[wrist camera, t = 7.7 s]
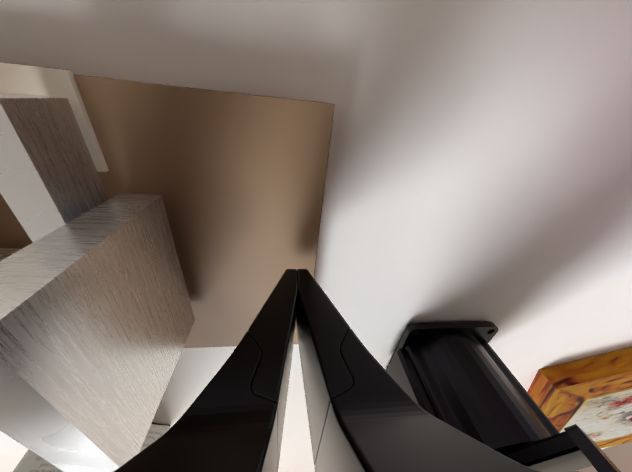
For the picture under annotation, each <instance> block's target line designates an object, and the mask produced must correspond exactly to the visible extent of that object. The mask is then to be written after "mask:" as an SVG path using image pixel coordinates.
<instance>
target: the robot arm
mask: <svg viewBox="0 0 632 472" xmlns="http://www.w3.org/2000/svg"><path fill="white" fill-rule="evenodd" d="M295 327H297V335H298V343H299V351H300V358H301V366H302V374H303V382H304V389H305V397H306V405H307V413H308V420H309V428H310V436H311V443H312V451H313V459H314V465H315V472H572V471H573V472H579V471H576V470H579V469H583V468H585V467H589V466H594V468H595V469H596V470H597V471H598V472H621V471H620V470H619V469H618V468H617V467H616V466H615V464H614V463H613V462H612V461H611V460H610V459H609V458H608V457H607V456H606V454H605V453H604V452H603V451H602V450H601V449H600V448H599V446H598V445H597V444H596V443H595V442H594V441H593V440H592V439H591V438H590V437H589V436H588V435H587V434H586V433H585V432H584V431H583V430H582V429H581V428H580V427H579V426H577V425H576V424H574V425H572V426H569V427H566V428H563V429H564V430H565V431H564V432H561V433H559V431H558V430H557V429H556V428H555V426H554V425H553V424H552V423H551V422H550V420H549V419H548V418H547V417H546V415H545V414H544V413H543V412H542V410H541V409H540V408H539V407H538V405H537V404H536V403H535V402H534V400H533V399H532V398H531V397H530V395H529V394H528V393H527V392H526V390H525V389H524V388H523V387H522V385H521V384H520V383H519V382H518V380H517V379H516V378H515V377H514V375H513V374H512V373H511V372H510V370H509V369H508V368H507V367H506V365H505V364H504V363H503V362H502V360H501V359H500V358H499V357H498V355H497V354H496V353H495V352H494V350H493V349H492V348H491V347H490V346H489V344H488V342H489V341H490V340H491V339H492V338H493V336H494V335H495V334H496V333H497V331H498V327H497V326H496V325H495V324H494V323H493V322H461V323H416V324H411V325H409V326H408V327H407V328H406V330H405V332H404V334H403V336H402V338H401V340H400V342H399V345H398V347H397V349H396V351H395V353H394V355H393V357H392V359H391V362H390V364H389V366H388V368H387V370H385V369H384V368H383V367H382V366H381V365H380V364H379V363H378V362H377V360H376V359H375V358H374V357H373V356H372V355H371V354H370V352H369V351H368V350H367V349H366V348H365V346H364V345H363V344H362V343H361V341H360V340H359V339H358V337H357V336H356V335H355V333H354V332H353V331H352V329H350V327H349V325H348V324H347V323H346V321H345V320H344V318H343V317H342V316H341V314H340V313H339V312H338V310H337V309H336V308H335V306H334V305H333V304H332V302H331V301H330V299H329V298H328V297H327V295H326V294H325V293H324V291H323V290H322V289H321V287H320V286H319V284H318V283H317V282H316V280H315V279H314V278H313V276H312V275H311V274H310V272H309V271H308V270H307V269H297V270H296V269H286V270H285V272H284V274H283V275H282V277H281V278H280V280H279V282H278V283H277V285H276V286H275V288H274V289H273V291H272V293H271V294H270V296H269V297H268V299H267V300H266V302H265V304H264V305H263V307H262V308H261V310H260V311H259V313H258V315H257V316H256V318H255V319H254V321H253V323H252V324H251V326H250V327H249V329H248V331H247V332H246V333H245V335H244V337H243V338H242V340H241V341H240V343H239V344H238V346H237V347H236V349H235V350H234V352H233V353H232V354H231V356H230V357H229V358H228V360H227V361H226V362H225V364H224V365H223V366H222V367H221V369H220V370H219V371H218V373H217V374H216V375H215V376H214V377H213V379H212V380H211V381H210V382H209V384H208V385H207V386H206V387H205V389H204V390H203V391H202V392H201V394H200V395H199V396H198V397H197V399H196V400H195V401H194V402H193V403H192V405H191V406H190V407H189V408H188V410H187V411H186V412H185V413H184V414H183V416H182V417H181V418H180V419H179V420H178V421H177V422H176V423H175V424H174V425H173V426H172V427H171V428H170V429H169V430H168V431H167V432H166V433H165V434H163V435H162V436H161V437H160V438H158V439H157V440H156V441H154V442H153V443H152V444H150V445H149V446H148V447H146V448H145V449H144V450H142V451H141V452H140V453H138V454H137V455H136V456H134V457H133V458H131V459H130V460H129V461H127V462H126V463H125V464H123V465H122V466H121V467H119V468H118V469H117V470H115V471H114V472H278V465H279V457H280V449H281V441H282V433H283V425H284V416H285V408H286V400H287V392H288V384H289V376H290V368H291V360H292V352H293V344H294V336H295Z"/></svg>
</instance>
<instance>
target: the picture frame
mask: <svg viewBox="0 0 632 472" xmlns="http://www.w3.org/2000/svg"><path fill="white" fill-rule="evenodd" d="M527 393H528V394H529V395H530V397H531V398H532V399H533V400H534V402H535V403H536V404H537V405H538V407H539V408H540V409H541V410H542V412H543V413H544V414H545V415H546V417H547V418H548V419H549V420H550V422H551V423H552V424H553V425H554V426H555V428H556V429H557V430H558V431H559V433H561V432H564V431H565V430H564V429H563V428H566V427H569V426H572V425H574V424H576V425H577V426H579V427H580V428H581V429H582V430H583V431H584V432H585V433H586V434H587V435H588V436H589V437H590V438H591V439H592V440H593V441H594V442H595V443H596V444H597V445H598V446H599V448H604V447H609V446H614V445H618V444H623V443H627V442H632V347H630V348H626V349H621V350H617V351H613V352H609V353H605V354H601V355H597V356H593V357H589V358H584V359H580V360H576V361H572V362H568V363H564V364H560V365H556V366H552V367H547V368H543V369H539V370H538V372H537V374H536V376H535V378H534V380H533V382H532V384H531V386H530V388H529V390H528V392H527Z"/></svg>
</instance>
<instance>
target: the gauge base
mask: <svg viewBox="0 0 632 472" xmlns="http://www.w3.org/2000/svg"><path fill="white" fill-rule="evenodd" d="M0 93H22V94H32V95H42V96H52V97H62V98H68V101H69V103H70V106H71V108H72V111H73V113H74V116H75V118H76V121H77V123H78V126H79V128H80V131H81V133H82V136H83V138H84V141H85V143H86V145H87V148H88V150H89V153H90V155H91V158H92V160H93V163H94V165H95V168H96V170H97V173H98V175H99V178H100V180H101V183H102V185H103V188H104V190H105V193H106V195H107V198H108V200H109V199H110V198H112V197H114V196H116V195H118V194H119V193H125V194H145V195H162V199H163V203H164V206H165V210H166V214H167V217H168V221H169V225H170V229H171V232H172V236H173V240H174V243H175V247H176V251H177V254H178V258H179V262H180V266H181V269H182V273H183V277H184V280H185V284H186V288H187V291H188V295H189V299H190V303H191V306H192V310H193V314H194V317H195V321H194V324H193V326H192V329H191V331H190V333H189V336H188V338H187V340H186V343H185V345H184V347H183V348H192V347H222V346H238V344H239V343H240V341H241V340H242V338H243V337H244V335H245V333H246V332H247V331H248V329H249V327H250V326H251V324H252V323H253V321H254V319H255V318H256V316H257V315H258V313H259V311H260V310H261V308H262V307H263V305H264V304H265V302H266V300H267V299H268V297H269V296H270V294H271V293H272V291H273V289H274V288H275V286H276V285H277V283H278V282H279V280H280V278H281V277H282V275H283V274H284V272H285V270H286V269H296V270H297V269H307V270H308V271H309V272H310V274H311V275H312V276H313V278H314V270H315V261H316V253H317V245H318V237H319V228H320V220H321V212H322V203H323V195H324V187H325V179H326V170H327V162H328V154H329V146H330V137H331V129H332V121H333V113H334V104H328V103H320V102H311V101H302V100H293V99H284V98H275V97H266V96H257V95H249V94H240V93H231V92H222V91H213V90H204V89H195V88H186V87H178V86H169V85H160V84H151V83H142V82H133V81H124V80H115V79H106V78H98V77H89V76H80V75H74V73H73V71H71V70H63V69H54V68H45V67H37V66H28V65H19V64H10V63H2V62H0ZM32 243H33V242H32V241H31V239H30V238H29V236H28V235H27V233H26V231H25V230H24V228H23V227H22V225H21V224H20V222H19V221H18V219H17V218H16V216H15V215H14V213H13V212H12V210H11V209H10V207H9V206H8V204H7V203H6V201H5V199H4V198H3V196H2V195H1V193H0V248H18V249H23V248H24V247H26V246H28V245H30V244H32ZM294 344H299V343H298V335H297V327H295V336H294Z"/></svg>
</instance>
